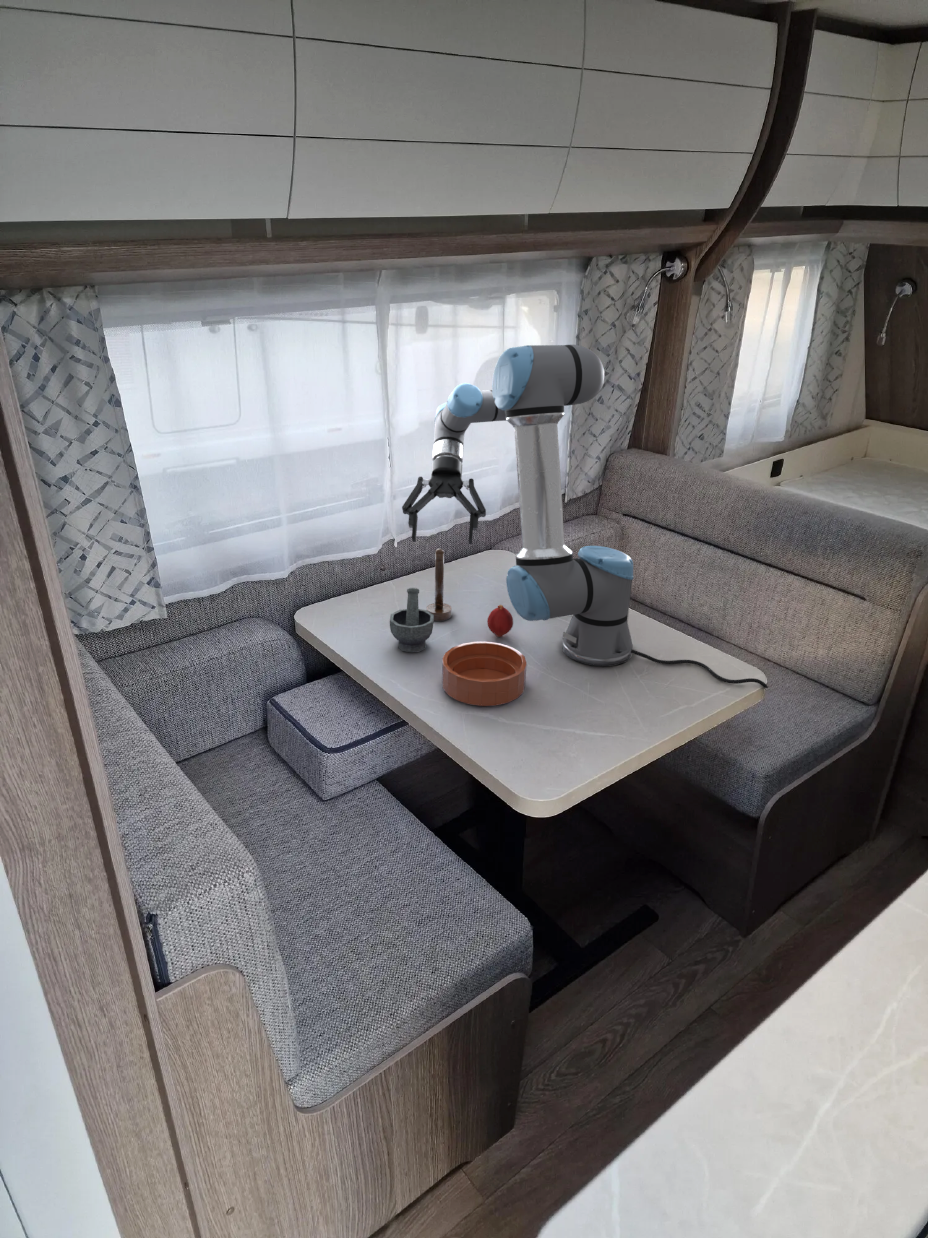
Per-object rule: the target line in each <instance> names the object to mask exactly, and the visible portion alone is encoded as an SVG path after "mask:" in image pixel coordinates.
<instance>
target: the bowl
mask: <svg viewBox="0 0 928 1238" xmlns="http://www.w3.org/2000/svg"><path fill="white" fill-rule="evenodd" d="M441 659H442V661H441V663H442V664H441V683H442V684H441V686H442V689H443V690H444V692H445V693H446V695H447V696H449V697H450V698H452V699H454V700H455V701H458V702H461V703H463V704H467V705H473V706H479V707H489V706H490V707H491V706H494V707H495V706H499V705H505V704H509V703H511V702H512V701H515V700H517V699H518V698H520V696H522V694H524V692H525V688H526V684H527V683H526V680H527V666H528V663H527V659H526V656H525V655H524V654H523V653H522V652H521V651H520V650H518V649H516V648H514V647H512V646H510V645H507V644H503V643H500V642H493V641H470V642H464V643H460V644H458V645H455V646H452V647H451V648H450V649H448V650H447V651H446V652H445V653H444V655H443V656H442V658H441Z"/></svg>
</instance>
